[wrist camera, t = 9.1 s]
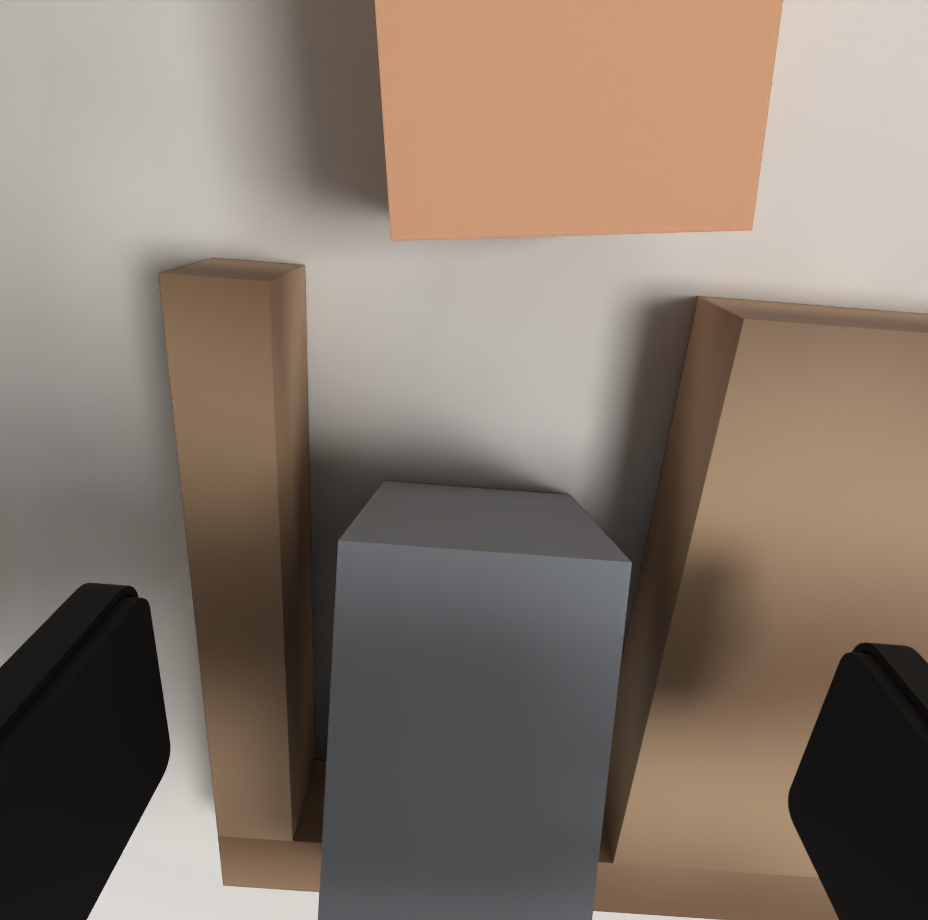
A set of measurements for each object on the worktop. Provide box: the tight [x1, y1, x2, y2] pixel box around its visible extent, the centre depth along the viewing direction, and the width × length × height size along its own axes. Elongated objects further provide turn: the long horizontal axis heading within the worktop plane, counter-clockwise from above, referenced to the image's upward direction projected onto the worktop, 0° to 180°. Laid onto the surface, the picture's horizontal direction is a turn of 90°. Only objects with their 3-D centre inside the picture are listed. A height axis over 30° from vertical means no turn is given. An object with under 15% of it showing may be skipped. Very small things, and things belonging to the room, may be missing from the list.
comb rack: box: [158, 258, 928, 920], centre depth 12 cm, size 12×22×2 cm, turn 86°
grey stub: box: [318, 481, 632, 920], centre depth 10 cm, size 8×4×4 cm, turn 176°
